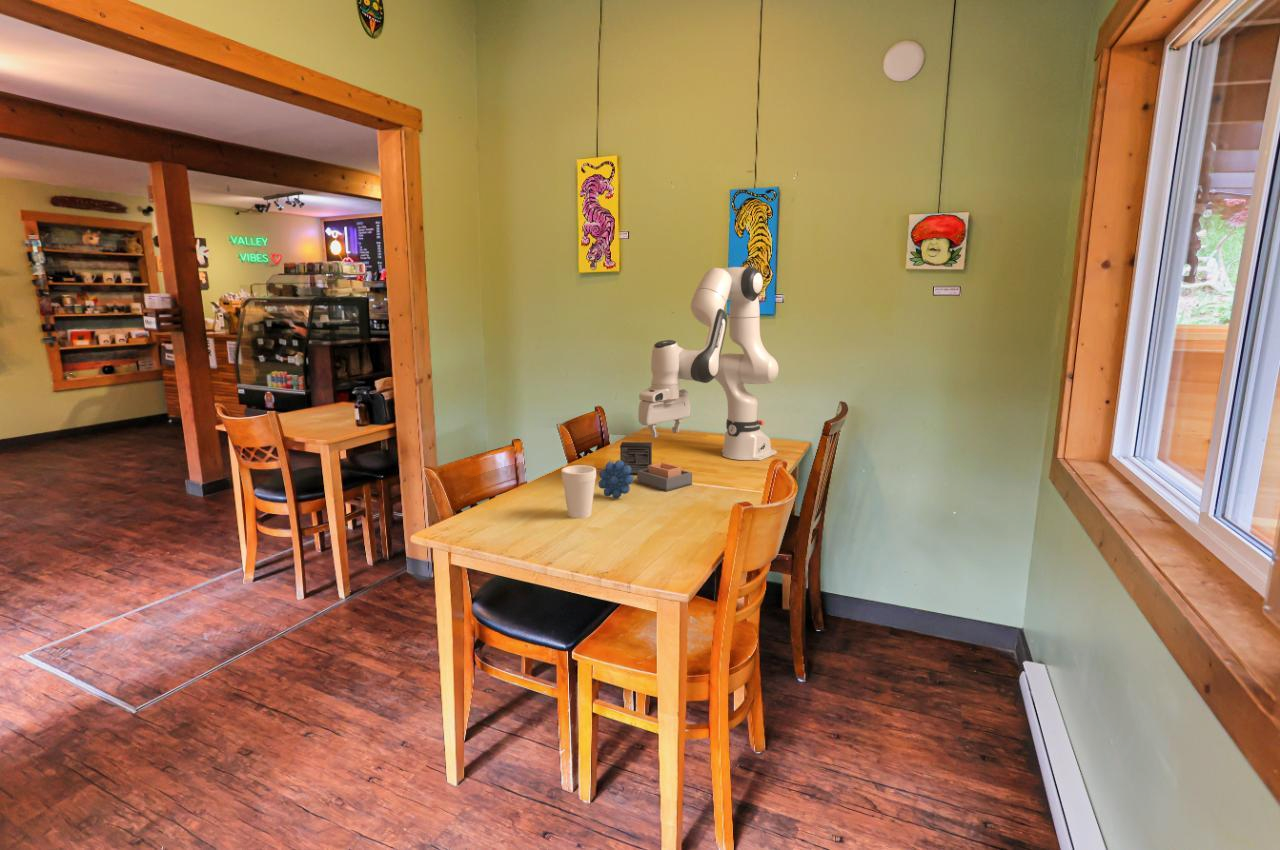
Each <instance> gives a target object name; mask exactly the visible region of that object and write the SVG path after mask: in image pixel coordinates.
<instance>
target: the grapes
mask: <svg viewBox="0 0 1280 850" xmlns="http://www.w3.org/2000/svg"><path fill="white" fill-rule="evenodd" d="M623 466H624V463H623V461H621V460H620V459H618V460H616V461H615V462H613V461H608V462H607V463H606V464H605V467H604V468H602V469H601V470H600V471H599V475H598V476H599V478H600V480H599V481H598V487H599V488H600V489H603V495H604V496H605V497H610V496H611V497H613V498H614V499H619V498H621V496H622V494H624V495H626V494H628V493H629V492H630V489H631V487H630V485H632V484H633V483H634V480H635V479H634V475H629V474H630V473H631V467H630V466H628V465H626V466H624V467H623Z"/></svg>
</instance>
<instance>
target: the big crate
mask: <svg viewBox="0 0 1280 850" xmlns="http://www.w3.org/2000/svg"><path fill="white" fill-rule="evenodd" d="M636 477H637V478H636V479H637V481H636V482H637V484H640V485H644V486H647V487H650V488H652V489H653V488H654V489H657V490H660V491H663V492H666V493H667V492H670V491H674V490H678V489H681V488H684V487H688V486H691V485H693V472H690V471H688V470H684V469H681V475H678V476H674V477H670V478H664V477H660V476H657V475H653V474H650V473H649V468H647V469H643V470H639V471H637V475H636Z"/></svg>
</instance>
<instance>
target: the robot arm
mask: <svg viewBox="0 0 1280 850" xmlns="http://www.w3.org/2000/svg"><path fill="white" fill-rule="evenodd" d="M764 281H765V280H764V277H763V274H762V272H761V271H760V270H759V269H758V268H756V267H750V266H748V267H742V266H732V267H731V266H730V267H724V268H722V267H714V268H713V267H712V268H710V269H709V270H707V271H706V272H705V274H704V276H703V277H702V279H701V280H700V282H699V283H698V286H697V287H696V290H694V291H695V292H694V293H693V297H692V299H691V302H690V311H691V313H692V315H693V317H694V318H695V319H696V320H697V321H698V322H699V323H700V324H702V325H704V326H706V327H709V330H708V333H707V338H706V342H705V345H704V347H703V348H702V349H699V350H693V349H686V348H685V349H684V348H683V347H681V346H680V345H678V342H677V341H676V340H673V339H667V340H660V341H657V342H655V343H654V345H653V347H652V351H651V357H650V358H651V359H650V361H651V362H650V366H651V367H650V368H651V373H652V374H651V375H652V376H651V377H652V378H651V383H650V384H651V386H649V387H648V388H646V389H644V390H643V391H642V392H640V393H639V395H638V398H639V400H640V402H639V405H638V413H637V415H638V416H637V417H638V422H639V424H640V425H643V426H647V428H648V429H649V431H650V436H651V438H659V431H657V430H656V427H657V424H662V423H668V422H671V421H674V426H672V427H671V428H672V429H671V430H672V433H674V434H677V433H680V427H681V425H682V422H683V419H686V418H690V415H691V403H690V402H691V401H690V398H689V397H690V396H689V392H688V391H687V389H680V380H684V381H695V382H698V383H702V384H707V383H709V382H711V381H713V380H716V381H717V382H718V383H719V385H720V386H721V388H723V391H724V392H725V396H726V401H727V418H726V423H725V424H726V426H725V427H726V428H725V429H726V432H725V434H724V441H723V448H722V449H721V453H722V454H721V455H722V456H723V457H724V458H726V459H731V460H740V461H763V460H765V459H768V458H769V457H772V456H773V455H776V454H778V451H777V450H775V448H771V447H772V446H771V439H770V437H769V436H768V435H767V434H766V433H765V432H764V431H762V429H761V428H760V427H761V426H764V424H765V420H764V419H759V420H758V406H759V404H758V399H757V398H756V397H755V396H754V394H752V393H750V392H748V390H747V389H746V387H745V384H746V385H747V384H748V385H767V384H772V383H773V382H774V381H775V380H776V379H777V378H778V375H779V369H780V368H779V364H778V361H777V360H776V358H774V357H773V355H771V354H770V353H769V352H768V350H767V349H766V348H765V346H764V343H763V342H762V338H761V327H760V326H761V324H760V323H761V322H760V321H761V320H760V319H761V315H760V314H761V311H760V309H761V308H760V298H759V297H760V295H761V293H762V291H763V289H764V284H765V283H764ZM728 300H730V302H729V314H728V315H727V312H726V311H725V306H726V304H727V303H728V302H727V301H728ZM728 316H729V317H728ZM728 318H729V320H728ZM728 321H729V323H728ZM727 327H728V328H729V329H728V331H729V332H728V335H729V339H730V340H731V341H732V342H733V343H734V344H736V345H738V346H739V347H740V348H741V349H742V351H743V353H723V354H722V350H723V345H724V342H725V341H724V340H725V335H726V331H727Z"/></svg>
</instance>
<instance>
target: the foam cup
mask: <svg viewBox="0 0 1280 850" xmlns="http://www.w3.org/2000/svg"><path fill="white" fill-rule="evenodd" d="M596 479H597V468H596V467H594V466H591V465H585V464H583V465H582V464H576V465H575V464H574V465H569V466H566V467H565V466H564V467H562V469H561V480H562V485H563V490H564V496H565V502H566V503H565V504H566V509H567V514H568V516H569V517H570V518H572V519H585V518H589V517H591V515H592V512H593V504H594V503H593V502H594V494H595V486H596V485H595V484H596Z"/></svg>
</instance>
